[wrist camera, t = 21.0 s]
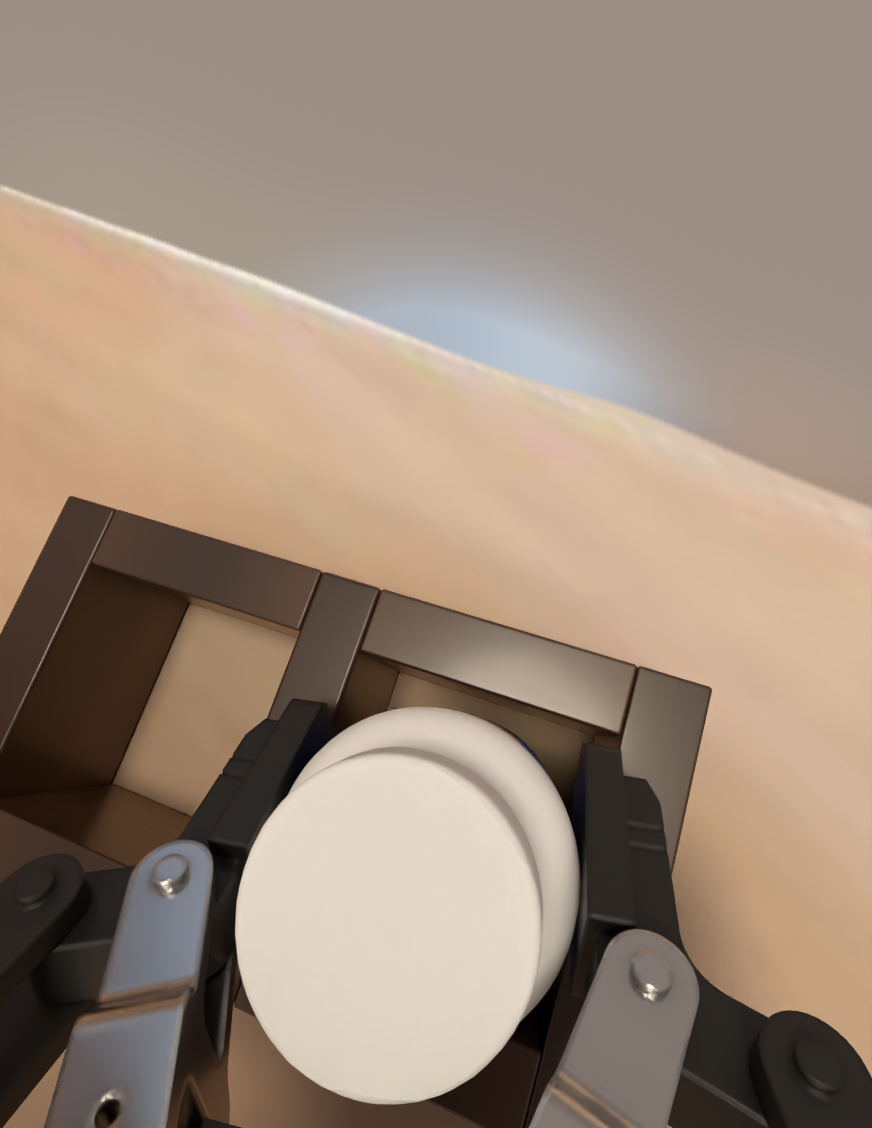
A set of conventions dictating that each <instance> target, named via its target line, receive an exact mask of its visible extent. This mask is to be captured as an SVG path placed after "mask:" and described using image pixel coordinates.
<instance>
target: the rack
mask: <svg viewBox="0 0 872 1128" xmlns="http://www.w3.org/2000/svg"><path fill="white" fill-rule="evenodd" d="M188 602H189V603H192V604H195V605H198V606H201V607H204V608H207V609H210V610H213V611H216V612H219V613H223V614H226V615H229V616H232V617H235V618H238V619H241V620H244V621H247V622H250V623H253V624H256V625H259V626H262V627H265V628H268V629H271V630H274V631H277V632H280V633H283V634H286V635H289V636H292V637H295V638H298V639H297V641H296V644H295V646H294V649H293V652H292V654H291V657H290V659H289V662H288V665H287V667H286V670H285V673H284V675H283V678H282V680H281V683H280V686H279V688H278V691H277V694H276V696H275V699H274V701H273V704H272V707H271V709H270V712H269V715H268V717H267V719H271V720H277V721H278V720H279V718H280V717H281V715H282V713H283V712H284V710H285V708H286V707H287V705H288V704H289V702H290V701H291V700H292V699H294V698H296V699H303V700H309V701H316V702H323V703H327V704H328V706H329V711H330V720H331V729H332V738H334V737H335V736H337V735H338V734H339V733H341V732H342V731H344V730H345V729H347V728H348V727H350V726H352V725H354V724H356V723H357V722H359V721H361V720H363V719H366V718H368V717H371V716H373V715H376V714H379V713H382V712H385V711H386V708H387V705H388V702H389V700H390V697H391V694H392V691H393V688H394V685H395V682H396V679H397V676H398V673H399V671H400V672H402V673H405V674H408V675H411V676H414V677H417V678H420V679H423V680H426V681H429V682H432V683H435V684H438V685H441V686H444V687H447V688H450V689H453V690H456V691H459V692H462V693H465V694H468V695H472V696H475V697H478V698H481V699H484V700H487V701H490V702H493V703H496V704H499V705H502V706H505V707H508V708H511V709H514V710H517V711H520V712H523V713H526V714H529V715H532V716H535V717H538V718H541V719H544V720H547V721H550V722H553V723H557V724H560V725H563V726H566V727H569V728H572V729H575V730H578V731H581V732H584V733H587V734H590V735H595V736H594V740H593V744H598V745H605V746H612V747H618V748H620V749H621V754H622V764H623V776H628V777H635V778H641V779H646V780H647V781H648V783H649V785H650V786H651V788H652V790H653V791H654V793H655V795H656V796H657V798H658V800H659V801H660V803H661V809H662V816H663V823H664V833H665V837H666V843H667V854H668V857H669V864H670V870H671V877H672V872H673V867H674V863H675V858H676V854H677V849H678V844H679V840H680V835H681V831H682V826H683V821H684V817H685V812H686V808H687V803H688V798H689V794H690V789H691V785H692V780H693V775H694V771H695V766H696V762H697V757H698V752H699V748H700V743H701V739H702V734H703V729H704V725H705V720H706V716H707V711H708V706H709V702H710V697H711V693H712V689H711V688H710V687H708V686H705V685H702V684H698V683H695V682H692V681H688V680H685V679H682V678H678V677H675V676H672V675H668V674H665V673H662V672H658V671H655V670H652V669H648V668H645V667H642V666H639V667H637V666H636V665H635V664H632V663H628V662H625V661H622V660H618V659H615V658H612V657H608V656H605V655H602V654H598V653H595V652H592V651H588V650H585V649H582V648H578V647H575V646H571V645H568V644H565V643H561V642H558V641H555V640H551V639H548V638H545V637H541V636H538V635H535V634H531V633H528V632H525V631H521V630H518V629H515V628H511V627H508V626H505V625H501V624H498V623H495V622H491V621H488V620H485V619H481V618H478V617H475V616H471V615H468V614H465V613H461V612H458V611H455V610H451V609H448V608H445V607H441V606H438V605H435V604H431V603H428V602H425V601H421V600H418V599H415V598H411V597H408V596H405V595H401V594H398V593H395V592H391V591H388V590H385V589H384V590H382V591H381V590H380V589H379V588H378V587H374V586H371V585H368V584H364V583H361V582H357V581H354V580H351V579H347V578H344V577H341V576H337V575H334V574H331V573H327V572H324V573H323V572H322V571H321V570H318V569H315V568H311V567H308V566H305V565H301V564H298V563H295V562H291V561H288V560H285V559H281V558H278V557H275V556H271V555H268V554H265V553H261V552H258V551H255V550H251V549H248V548H245V547H241V546H238V545H235V544H231V543H228V542H225V541H221V540H218V539H215V538H211V537H208V536H205V535H201V534H198V533H195V532H191V531H188V530H185V529H181V528H178V527H175V526H171V525H168V524H165V523H161V522H158V521H155V520H151V519H148V518H145V517H141V516H138V515H135V514H131V513H128V512H125V511H121V510H116V509H114V508H111V507H107V506H104V505H101V504H97V503H94V502H91V501H87V500H84V499H81V498H77V497H74V496H70V497H69V498H68V499H67V501H66V503H65V505H64V507H63V509H62V511H61V513H60V515H59V517H58V519H57V521H56V523H55V525H54V527H53V529H52V531H51V533H50V535H49V537H48V539H47V542H46V544H45V546H44V548H43V550H42V552H41V554H40V556H39V558H38V560H37V562H36V564H35V566H34V568H33V570H32V572H31V574H30V576H29V578H28V580H27V582H26V584H25V586H24V588H23V590H22V592H21V594H20V596H19V598H18V600H17V602H16V604H15V606H14V608H13V610H12V612H11V614H10V616H9V618H8V620H7V622H6V624H5V626H4V628H3V630H2V632H1V634H0V883H2V882H3V881H4V880H5V879H6V878H7V877H8V876H9V875H11V874H12V873H13V872H14V871H15V870H17V869H18V868H20V867H21V866H23V865H24V864H26V863H28V862H30V861H32V860H34V859H36V858H39V857H42V856H45V855H50V854H60V853H62V854H68V855H71V856H73V857H75V858H76V859H78V861H79V862H80V863H81V865H82V868H83V870H84V872H93V871H100V870H108V869H116V868H124V867H130V866H135V865H138V863H139V862H140V861H141V860H142V859H143V858H144V857H145V856H146V855H147V854H149V853H150V852H151V851H153V850H154V849H156V848H157V847H159V846H161V845H163V844H166V843H169V842H172V841H176V840H177V839H178V838H179V836H180V835H181V834H182V832H183V831H184V829H185V827H186V826H187V824H188V823H189V821H190V820H191V818H192V817H189V816H187V815H185V814H182V813H180V812H177V811H175V810H173V809H170V808H168V807H165V806H163V805H161V804H158V803H156V802H153V801H151V800H149V799H146V798H144V797H141V796H139V795H137V794H134V793H132V792H129V791H127V790H125V789H122V788H120V787H117V786H115V785H113V784H111V782H112V779H113V777H114V775H115V772H116V770H117V768H118V765H119V763H120V761H121V758H122V756H123V754H124V751H125V749H126V747H127V744H128V742H129V740H130V737H131V735H132V733H133V730H134V728H135V726H136V723H137V721H138V719H139V716H140V714H141V712H142V710H143V707H144V705H145V703H146V700H147V698H148V696H149V693H150V691H151V689H152V686H153V684H154V682H155V679H156V677H157V675H158V672H159V670H160V668H161V665H162V663H163V661H164V658H165V656H166V654H167V651H168V649H169V647H170V644H171V642H172V640H173V637H174V635H175V633H176V630H177V628H178V626H179V623H180V621H181V619H182V616H183V614H184V612H185V609H186V607H187V605H188ZM110 784H111V785H110ZM584 1002H585V998H580V997H576V996H571V995H570V947H569V950H568V953H567V955H566V958H565V960H564V962H563V965H562V967H561V969H560V971H559V973H558V975H557V977H556V978H555V980H554V982H553V983H552V985H551V987H550V988H549V990H548V991H547V993H546V994H545V995H544V996H543V998H542V999H541V1000H540V1001H539V1003H538V1004H537V1005H536V1006H535V1007H534V1008H533V1009H532V1010H531V1011H530V1012H529V1013H528V1014H527V1016H526V1017H525V1018H523V1019H522V1020H521V1021H520V1022H519V1024H518V1026H517V1028H516V1030H515V1032H514V1033H513V1035H512V1036H511V1037H510V1039H509V1040H508V1041H507V1043H506V1044H505V1046H504V1047H503V1048H502V1049H501V1051H500V1052H499V1053H498V1054H497V1055H496V1056H495V1057H494V1058H493V1059H492V1060H491V1062H490V1063H489V1064H488V1065H487V1066H486V1067H484V1068H483V1069H482V1070H481V1071H480V1072H479V1073H478V1074H477V1075H475V1076H474V1077H473V1078H471V1079H469V1080H468V1081H466V1082H464V1083H463V1084H461V1085H459V1086H457V1087H456V1088H454V1089H453V1090H451V1091H448V1092H446V1093H444V1094H442V1095H440V1096H436V1097H433V1098H430V1099H426V1100H427V1101H429V1102H431V1103H433V1104H435V1105H437V1106H439V1107H441V1108H443V1109H445V1110H447V1111H449V1112H451V1113H453V1114H455V1115H457V1116H459V1117H461V1118H463V1119H466V1120H468V1121H470V1122H472V1123H474V1124H476V1125H478V1126H480V1127H482V1128H529V1127H530V1124H531V1122H532V1119H533V1117H534V1115H535V1112H536V1110H537V1107H538V1105H539V1103H540V1100H541V1098H542V1096H543V1093H544V1091H545V1089H546V1087H547V1085H548V1083H549V1081H550V1079H551V1077H552V1076H553V1075H554V1074H555V1072H556V1070H557V1067H558V1065H559V1063H560V1061H561V1058H562V1056H563V1053H564V1051H565V1048H566V1046H567V1043H568V1041H569V1039H570V1036H571V1034H572V1031H573V1029H574V1026H575V1024H576V1021H577V1019H578V1016H579V1014H580V1012H581V1009H582V1007H583V1004H584ZM233 1003H234V1006H235V1007H236V1008H238V1009H240V1010H242V1011H244V1012H246V1013H248V1014H250V1015H252V1016H254V1017H256V1015H255V1013H254V1011H253V1009H252V1007H251V1004H250V1002H249V999H248V997H247V995H246V991H245V988H244V985H243V982H242V978H241V974H240V969H239V965H238V957H237V964H236V975H235V987H234V998H233ZM256 1018H257V1017H256Z"/></svg>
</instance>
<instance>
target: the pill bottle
mask: <svg viewBox="0 0 872 1128" xmlns="http://www.w3.org/2000/svg"><path fill="white" fill-rule="evenodd" d="M580 884H581V880H580V865H579V857H578V851H577V845H576V839H575V836H574V832H573V829H572V825H571V822H570V819H569V817H568V814H567V811H566V808H565V806H564V804H563V801H562V799H561V797H560V795H559V793H558V791H557V789H556V787H555V785H554V784H553V782H552V781H551V779H550V777H549V775H548V773H547V771H546V770H545V768H544V767H543V765H542V763H541V762H540V761H539V759H538V758H537V756H536V755H535V754H534V753H533V751H532V750H531V749H530V748H529V747H528V746H527V745H526V744H525V743H524V742H523V741H522V740H520V739H519V738H518V737H517V736H516V735H514V734H513V733H511V732H510V731H508V730H507V729H505V728H503V727H501V726H499V725H498V724H495V723H493V722H491V721H488V720H485V719H482V718H479V717H476V716H473V715H470V714H468V713H465V712H461V711H457V710H453V709H447V708H441V707H405V708H399V709H393V710H389V711H386V712H382V713H379V714H376V715H373V716H371V717H368V718H366V719H363V720H361V721H359V722H357V723H356V724H354V725H352V726H350V727H348V728H347V729H345V730H344V731H342V732H341V733H339V734H338V735H337V736H335V737H334V738H333V739H331V740H330V741H329V742H328V743H327V744H326V745H325V746H324V747H323V748H322V749H321V750H320V751H319V752H318V753H317V754H316V755H315V756H314V757H313V758H312V759H311V760H310V761H309V762H308V764H307V765H306V766H305V768H304V769H303V770H302V772H301V773H300V775H299V776H298V778H297V779H296V781H295V783H294V784H293V786H292V788H291V790H290V792H289V794H288V796H287V797H286V798H285V799H284V800H283V801H282V802H281V803H280V804H279V805H278V807H277V808H276V809H275V810H274V812H273V813H272V814H271V816H270V817H269V818H268V820H267V821H266V822H265V824H264V825H263V827H262V829H261V831H260V833H259V835H258V837H257V839H256V841H255V843H254V845H253V847H252V849H251V851H250V854H249V856H248V859H247V862H246V865H245V868H244V871H243V875H242V878H241V882H240V886H239V892H238V897H237V903H236V920H235V939H236V948H237V957H238V965H239V969H240V974H241V978H242V982H243V985H244V988H245V991H246V995H247V997H248V999H249V1002H250V1004H251V1007H252V1009H253V1011H254V1013H255V1015H256V1017H257V1019H258V1020H259V1022H260V1024H261V1026H262V1028H263V1030H264V1031H265V1033H266V1034H267V1036H268V1037H269V1039H270V1040H271V1041H272V1043H273V1044H274V1045H275V1047H276V1048H277V1049H278V1050H279V1051H280V1053H281V1054H282V1055H283V1056H284V1057H285V1059H286V1060H287V1061H288V1062H289V1063H290V1064H291V1065H292V1066H294V1067H295V1068H296V1069H298V1070H299V1071H300V1072H301V1073H303V1074H304V1075H305V1076H306V1077H308V1078H309V1079H311V1080H312V1081H314V1082H315V1083H317V1084H318V1085H320V1086H322V1087H324V1088H326V1089H328V1090H330V1091H332V1092H334V1093H337V1094H339V1095H341V1096H343V1097H347V1098H350V1099H353V1100H357V1101H361V1102H366V1103H371V1104H407V1103H415V1102H420V1101H423V1100H426V1099H430V1098H433V1097H436V1096H440V1095H442V1094H444V1093H446V1092H448V1091H451V1090H453V1089H454V1088H456V1087H457V1086H459V1085H461V1084H463V1083H464V1082H466V1081H468V1080H469V1079H471V1078H473V1077H474V1076H475V1075H477V1074H478V1073H479V1072H480V1071H481V1070H482V1069H483V1068H484V1067H486V1066H487V1065H488V1064H489V1063H490V1062H491V1060H492V1059H493V1058H494V1057H495V1056H496V1055H497V1054H498V1053H499V1052H500V1051H501V1049H502V1048H503V1047H504V1046H505V1044H506V1043H507V1041H508V1040H509V1039H510V1037H511V1036H512V1035H513V1033H514V1032H515V1030H516V1028H517V1026H518V1024H519V1022H520V1021H521V1020H522V1019H523V1018H525V1017H526V1016H527V1014H528V1013H529V1012H530V1011H531V1010H532V1009H533V1008H534V1007H535V1006H536V1005H537V1004H538V1003H539V1001H540V1000H541V999H542V998H543V996H544V995H545V994H546V993H547V991H548V990H549V988H550V987H551V985H552V983H553V982H554V980H555V978H556V977H557V975H558V973H559V971H560V969H561V967H562V965H563V962H564V960H565V958H566V955H567V953H568V950H569V947H570V944H571V941H572V938H573V933H574V929H575V924H576V919H577V913H578V907H579V896H580Z"/></svg>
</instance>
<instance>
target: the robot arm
mask: <svg viewBox="0 0 872 1128" xmlns="http://www.w3.org/2000/svg"><path fill="white" fill-rule="evenodd" d="M331 739H333V738H332V729H331V720H330V711H329V706H328V704H327V703H323V702H316V701H309V700H303V699H296V698H294V699H292V700H291V701H290V702H289V704H288V705H287V707H286V708H285V710H284V712H283V713H282V715H281V717H280V718H279V720H278V721H277V720H271V719H265V720H264V721H262V722H261V723H260V724H258V725H257V726H256V727H255V728H253V729H252V730H251V731H250V732H248V733H247V734H246V735H245V737H244V738H243V740H242V741H241V743H240V744H239V746H238V747H237V749H236V750H235V752H234V754H233V757H232V758H230V760H229V761H228V763H227V764H226V766H225V767H224V769H223V773H222V774H220V775H219V777H218V778H217V780H216V781H215V783H214V784H213V786H212V787H211V789H210V790H209V792H208V794H207V795H206V797H205V798H204V800H203V801H202V803H201V804H200V806H199V807H198V809H197V811H196V812H195V814H194V815H193V817H192V818H191V820H190V821H189V823H188V824H187V826H186V827H185V829H184V831H183V832H182V834H181V835H180V836H179V838H178V839H177V840H176V841H172V842H169V843H166V844H163V845H161V846H159V847H157V848H156V849H154V850H153V851H151V852H150V853H149V854H147V855H146V856H145V857H144V858H143V859H142V860H141V861H140V862H139V863H138V865H135V866H130V867H124V868H116V869H108V870H100V871H93V872H84V870H83V868H82V865H81V863H80V862H79V861H78V859H76V858H75V857H73V856H71V855H68V854H62V853H60V854H50V855H45V856H42V857H39V858H36V859H34V860H32V861H30V862H28V863H26V864H24V865H23V866H21V867H20V868H18V869H17V870H15V871H14V872H13V873H12V874H11V875H9V876H8V877H7V878H6V879H5V880H4V881H3V882H2V883H0V1128H3V1126H4V1125H5V1124H6V1123H7V1121H8V1120H9V1119H10V1118H11V1116H12V1115H13V1114H14V1113H15V1111H16V1110H17V1109H18V1108H19V1106H20V1105H21V1104H22V1103H23V1101H24V1100H25V1099H26V1098H27V1096H28V1095H29V1094H30V1093H31V1091H32V1090H33V1089H34V1088H35V1086H36V1085H37V1084H38V1083H39V1081H40V1080H41V1079H42V1078H43V1076H44V1075H45V1074H46V1073H47V1071H48V1070H49V1069H50V1068H51V1066H52V1065H53V1064H54V1063H55V1061H56V1060H57V1059H58V1058H59V1056H60V1055H61V1054H62V1053H63V1051H64V1050H65V1049H66V1052H65V1056H64V1059H63V1063H62V1066H61V1070H60V1073H59V1077H58V1080H57V1084H56V1087H55V1091H54V1094H53V1098H52V1101H51V1105H50V1108H49V1112H48V1115H47V1119H46V1122H45V1126H44V1128H241V1127H237V1126H234V1125H230V1124H229V1122H230V1099H229V1086H228V1056H229V1045H230V1033H231V1022H232V1010H233V998H234V987H235V975H236V964H237V948H236V939H235V920H236V903H237V897H238V892H239V886H240V882H241V878H242V875H243V871H244V868H245V865H246V862H247V859H248V856H249V854H250V851H251V849H252V847H253V845H254V843H255V841H256V839H257V837H258V835H259V833H260V831H261V829H262V827H263V825H264V824H265V822H266V821H267V820H268V818H269V817H270V816H271V814H272V813H273V812H274V810H275V809H276V808H277V807H278V805H279V804H280V803H281V802H282V801H283V800H284V799H285V798H286V797H287V796H288V794H289V792H290V790H291V788H292V786H293V784H294V783H295V781H296V779H297V778H298V776H299V775H300V773H301V772H302V770H303V769H304V768H305V766H306V765H307V764H308V762H309V761H310V760H311V759H312V758H313V757H314V756H315V755H316V754H317V753H318V752H319V751H320V750H321V749H322V748H323V747H324V746H325V745H326V744H327V743H328V742H329V741H330V740H331ZM571 825H572V829H573V832H574V836H575V839H576V845H577V851H578V857H579V865H580V880H581V884H580V896H579V907H578V913H577V919H576V924H575V929H574V933H573V938H572V941H571V944H570V995H571V996H576V997H580V998H585V1002H584V1004H583V1007H582V1009H581V1012H580V1014H579V1016H578V1019H577V1021H576V1024H575V1026H574V1029H573V1031H572V1034H571V1036H570V1039H569V1041H568V1043H567V1046H566V1048H565V1051H564V1053H563V1056H562V1058H561V1061H560V1063H559V1065H558V1067H557V1070H556V1072H555V1074H554V1075H553V1076H552V1077H551V1079H550V1081H549V1083H548V1085H547V1087H546V1089H545V1091H544V1093H543V1096H542V1098H541V1100H540V1103H539V1105H538V1107H537V1110H536V1112H535V1115H534V1117H533V1119H532V1122H531V1124H530V1127H529V1128H666V1127H667V1124H668V1125H669V1126H671V1127H672V1128H872V1077H871V1075H870V1073H869V1072H868V1070H867V1068H866V1066H865V1064H864V1063H863V1061H862V1059H861V1058H860V1056H859V1055H858V1054H857V1052H856V1051H855V1049H854V1048H853V1047H852V1046H851V1045H850V1044H849V1043H848V1041H847V1040H846V1039H845V1038H844V1037H843V1036H841V1035H840V1034H839V1033H838V1032H837V1031H836V1030H835V1029H833V1028H832V1027H831V1026H829V1025H828V1024H827V1023H825V1022H823V1021H821V1020H820V1019H818V1018H816V1017H814V1016H811V1015H809V1014H806V1013H803V1012H799V1011H790V1010H789V1011H781V1012H778V1013H775V1014H773V1015H772V1016H770V1017H769V1018H768V1017H766V1016H764V1015H762V1014H760V1013H759V1012H757V1011H755V1010H753V1009H751V1008H749V1007H748V1006H746V1005H744V1004H742V1003H740V1002H739V1001H737V1000H735V999H733V998H731V997H729V996H728V995H726V994H724V993H723V992H721V991H720V990H718V989H717V988H716V987H714V986H713V985H712V984H711V983H710V982H709V981H707V980H706V979H705V978H704V977H703V976H702V975H701V973H700V972H699V971H698V970H697V969H696V967H695V966H694V964H693V963H692V962H691V960H690V959H689V957H688V955H687V953H686V951H685V949H684V946H683V943H682V941H681V936H680V931H679V925H678V918H677V911H676V904H675V898H674V891H673V884H672V877H671V870H670V864H669V857H668V854H667V843H666V837H665V833H664V823H663V816H662V809H661V803H660V801H659V800H658V798H657V796H656V795H655V793H654V791H653V790H652V788H651V786H650V785H649V783H648V781H647V780H646V779H641V778H635V777H628V776H623V764H622V754H621V749H620V748H618V747H612V746H605V745H598V744H592V743H585V742H583V744H582V748H581V754H580V760H579V765H578V771H577V777H576V783H575V789H574V795H573V804H572V817H571Z"/></svg>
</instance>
